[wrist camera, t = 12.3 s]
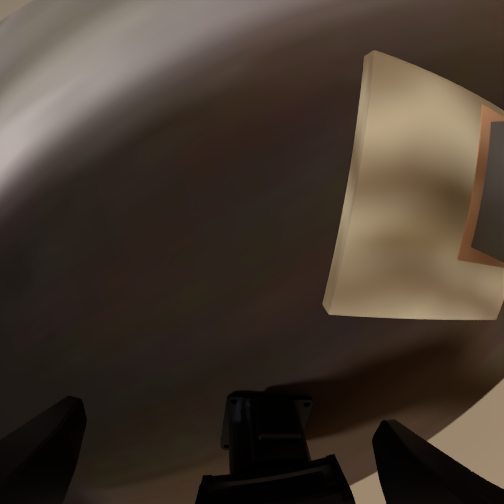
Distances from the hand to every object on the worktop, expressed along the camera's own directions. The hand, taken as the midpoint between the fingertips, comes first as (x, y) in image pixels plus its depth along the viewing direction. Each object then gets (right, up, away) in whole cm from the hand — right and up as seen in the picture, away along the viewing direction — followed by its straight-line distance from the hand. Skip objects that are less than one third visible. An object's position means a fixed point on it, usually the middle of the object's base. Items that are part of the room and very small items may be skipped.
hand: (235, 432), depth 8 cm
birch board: (+14, +8, +11) cm, 20 cm away
